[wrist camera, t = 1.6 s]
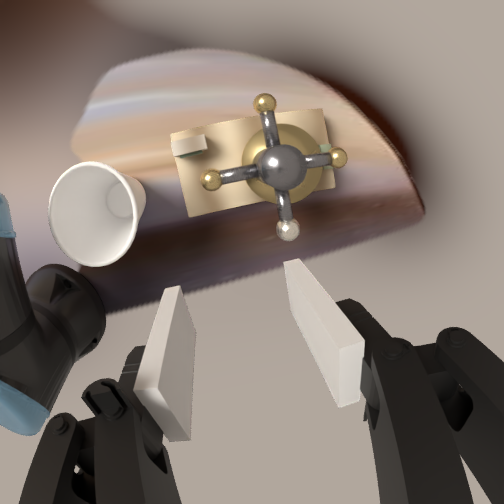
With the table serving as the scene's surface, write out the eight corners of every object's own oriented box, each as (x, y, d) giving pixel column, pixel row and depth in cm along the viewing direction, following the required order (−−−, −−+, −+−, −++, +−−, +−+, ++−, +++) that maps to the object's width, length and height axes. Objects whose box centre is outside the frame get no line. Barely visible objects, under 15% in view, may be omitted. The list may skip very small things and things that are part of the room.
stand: (190, 213, 34) (186, 222, 29) (173, 136, 31) (166, 132, 26) (327, 185, 35) (343, 189, 30) (315, 111, 32) (329, 105, 27)
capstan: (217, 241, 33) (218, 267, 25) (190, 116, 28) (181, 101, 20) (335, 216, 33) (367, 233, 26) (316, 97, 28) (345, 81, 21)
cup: (176, 190, 33) (159, 203, 22) (133, 251, 34) (105, 286, 24) (117, 145, 30) (78, 140, 20) (79, 208, 32) (34, 227, 21)
